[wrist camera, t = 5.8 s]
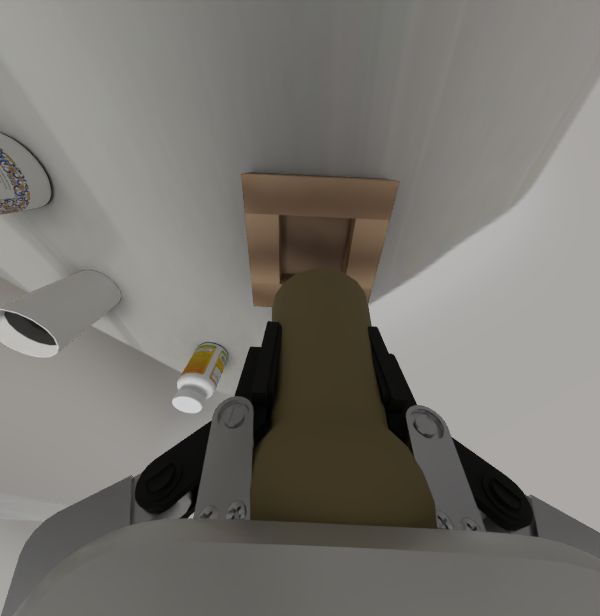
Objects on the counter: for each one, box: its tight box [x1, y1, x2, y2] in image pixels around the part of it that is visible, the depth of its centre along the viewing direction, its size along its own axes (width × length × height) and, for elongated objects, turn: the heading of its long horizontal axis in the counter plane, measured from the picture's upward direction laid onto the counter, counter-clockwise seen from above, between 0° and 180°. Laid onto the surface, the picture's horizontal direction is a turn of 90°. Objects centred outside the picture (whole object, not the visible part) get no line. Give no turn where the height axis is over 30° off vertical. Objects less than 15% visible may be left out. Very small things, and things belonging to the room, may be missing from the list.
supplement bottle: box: [172, 343, 228, 413], centre depth 33 cm, size 5×5×10 cm
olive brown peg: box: [250, 268, 438, 529], centre depth 9 cm, size 6×6×11 cm
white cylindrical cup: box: [0, 270, 121, 357], centre depth 26 cm, size 7×7×10 cm
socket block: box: [241, 172, 400, 307], centre depth 24 cm, size 14×14×4 cm
